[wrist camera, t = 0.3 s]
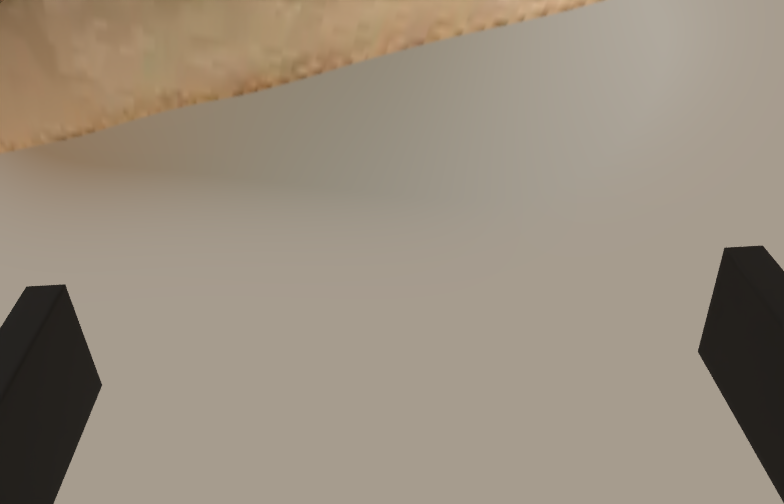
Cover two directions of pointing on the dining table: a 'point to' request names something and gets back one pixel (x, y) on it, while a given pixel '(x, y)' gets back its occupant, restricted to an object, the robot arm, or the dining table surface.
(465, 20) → the dining table surface
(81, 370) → the robot arm
